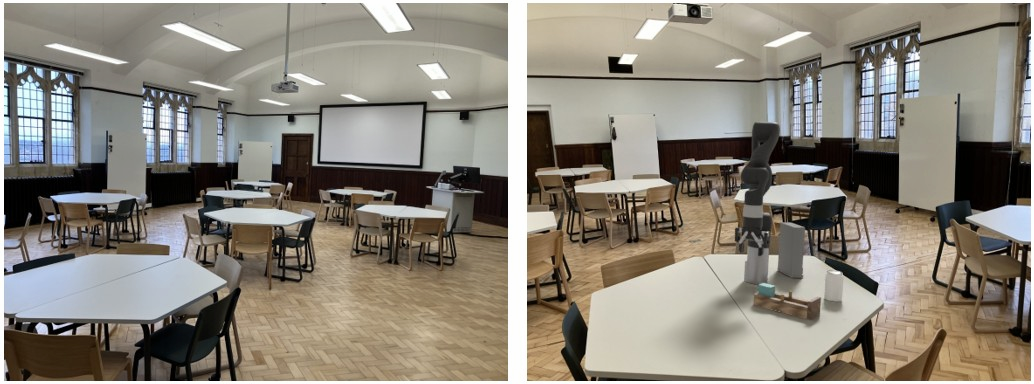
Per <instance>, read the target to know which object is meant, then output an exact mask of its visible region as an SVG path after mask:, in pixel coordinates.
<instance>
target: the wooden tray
mask: <svg viewBox="0 0 1034 384" xmlns="http://www.w3.org/2000/svg"><path fill="white" fill-rule="evenodd" d="M821 301H822V297H821V296H816V297H814V298H812V299H810V300H807V299H804V298H799V297H796V296H795V297H794V296H793V291H792V290H788V295H787V294H782V293H780V292H775V298H773V297H769V296H765V295H761V294H758V292H757V293H754V294H753V302H752V304H753V306H755V305H756V307H760V308H763V307H764V308H763V309H767V310H770V309H772V310H771V311H774V310H776V311H775V312H778V311H780V312H779V313H782V312H783V313H782V314H785V313H786V314H787V315H790V316H794V317H797V318H801V319H805V320H808V321H811V320H813V319H814V318H817V317H818V316H820V315H821V305H822V302H821ZM786 314H785V315H786Z"/></svg>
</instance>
